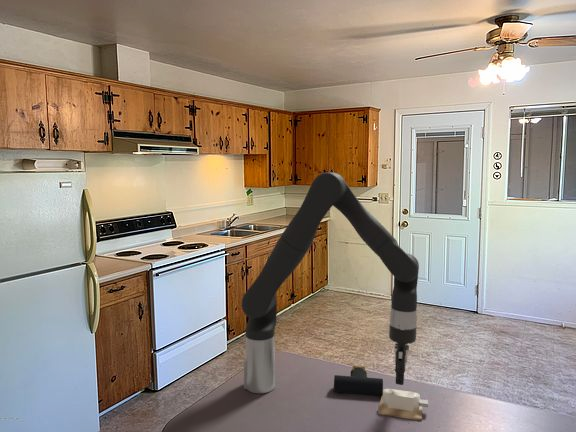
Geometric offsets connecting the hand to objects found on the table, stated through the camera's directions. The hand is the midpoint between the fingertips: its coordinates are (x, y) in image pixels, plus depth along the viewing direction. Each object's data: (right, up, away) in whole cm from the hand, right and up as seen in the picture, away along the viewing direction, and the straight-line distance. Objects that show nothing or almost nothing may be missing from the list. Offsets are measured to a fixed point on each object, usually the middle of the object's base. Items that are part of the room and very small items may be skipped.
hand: (400, 377), depth 131 cm
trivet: (0, -9, +1) cm, 9 cm away
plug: (+1, -9, +1) cm, 9 cm away
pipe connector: (-10, -9, +14) cm, 19 cm away
